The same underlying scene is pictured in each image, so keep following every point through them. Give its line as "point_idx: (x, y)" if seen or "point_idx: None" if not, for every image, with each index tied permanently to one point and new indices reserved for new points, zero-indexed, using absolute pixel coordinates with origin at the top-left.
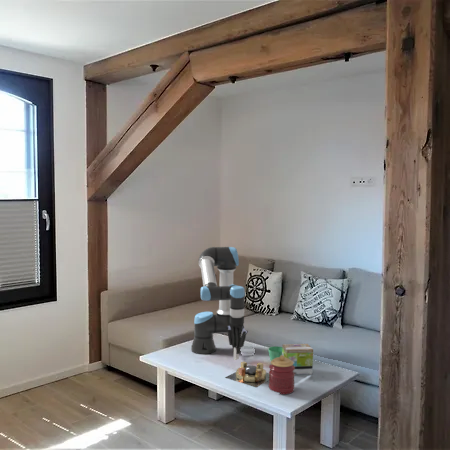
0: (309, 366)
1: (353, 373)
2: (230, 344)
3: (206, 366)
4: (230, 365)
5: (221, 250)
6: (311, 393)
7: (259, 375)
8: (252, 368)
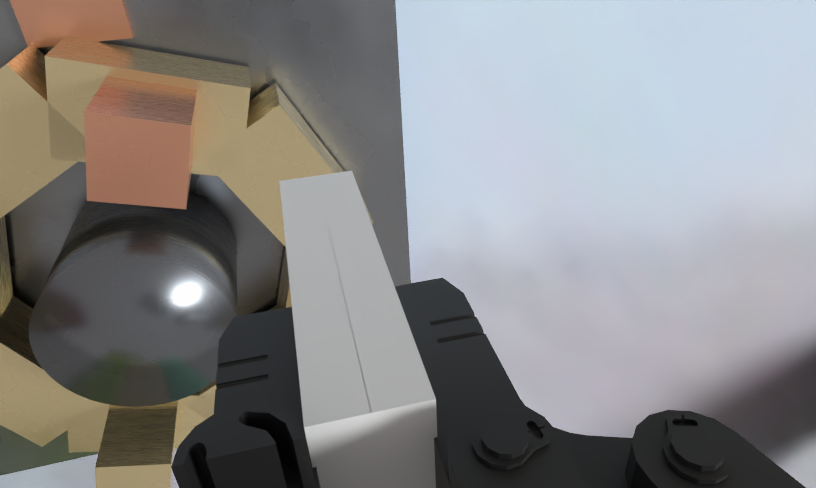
0: None
1: None
2: (673, 438)
3: (791, 101)
4: (581, 302)
5: None
6: None
7: None
8: (81, 326)
